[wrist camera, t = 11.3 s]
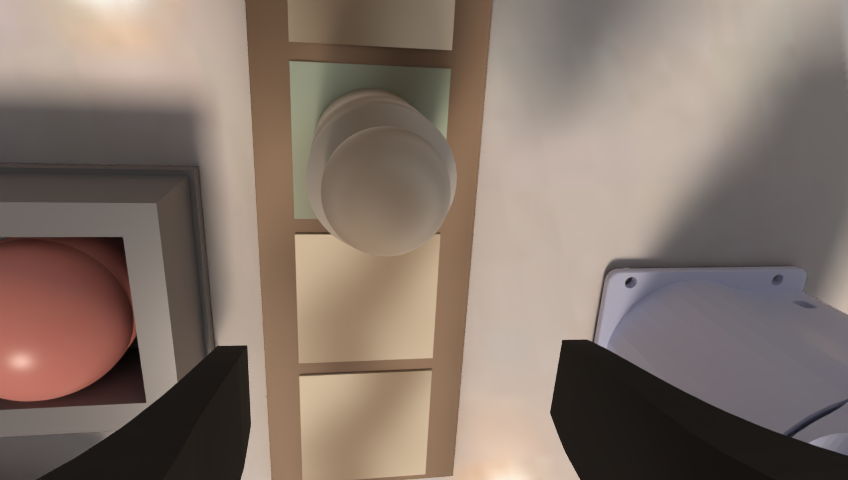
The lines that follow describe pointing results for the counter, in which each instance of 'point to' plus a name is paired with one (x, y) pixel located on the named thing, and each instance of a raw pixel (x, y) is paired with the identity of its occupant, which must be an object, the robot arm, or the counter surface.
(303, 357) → the board
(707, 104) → the counter surface
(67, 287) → the popper dome
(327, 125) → the pawn
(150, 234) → the frame
